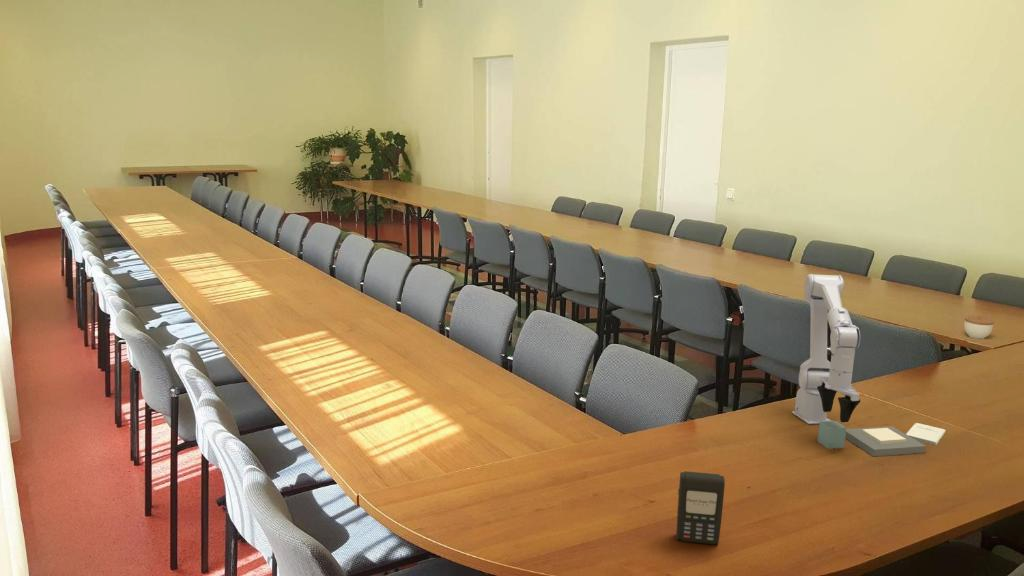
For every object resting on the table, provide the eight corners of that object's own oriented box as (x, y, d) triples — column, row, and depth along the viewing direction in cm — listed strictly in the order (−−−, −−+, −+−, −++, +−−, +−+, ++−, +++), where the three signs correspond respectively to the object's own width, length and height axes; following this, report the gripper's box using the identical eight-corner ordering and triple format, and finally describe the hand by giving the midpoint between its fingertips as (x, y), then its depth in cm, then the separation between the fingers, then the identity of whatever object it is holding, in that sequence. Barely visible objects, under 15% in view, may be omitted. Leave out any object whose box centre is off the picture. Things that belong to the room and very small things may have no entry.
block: (817, 441, 219) (819, 421, 218) (833, 440, 220) (835, 420, 219) (827, 449, 215) (830, 428, 213) (843, 448, 216) (846, 427, 214)
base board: (842, 435, 224) (843, 426, 223) (891, 432, 227) (892, 423, 226) (873, 456, 210) (874, 446, 210) (925, 452, 213) (926, 442, 213)
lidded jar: (965, 338, 329) (968, 317, 327) (959, 332, 339) (963, 311, 337) (994, 341, 326) (997, 319, 324) (987, 334, 336) (991, 313, 334)
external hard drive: (904, 439, 224) (914, 427, 233) (935, 447, 219) (945, 434, 228) (905, 434, 223) (915, 422, 233) (936, 442, 218) (946, 429, 228)
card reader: (675, 542, 165) (680, 477, 162) (674, 533, 169) (679, 469, 166) (719, 547, 164) (725, 481, 161) (717, 537, 168) (723, 473, 164)
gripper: (812, 362, 218) (807, 408, 221) (845, 379, 205) (839, 427, 208) (834, 361, 220) (828, 406, 223) (868, 377, 206) (862, 425, 209)
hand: (835, 416), depth 215 cm, fingers open, 7 cm apart
